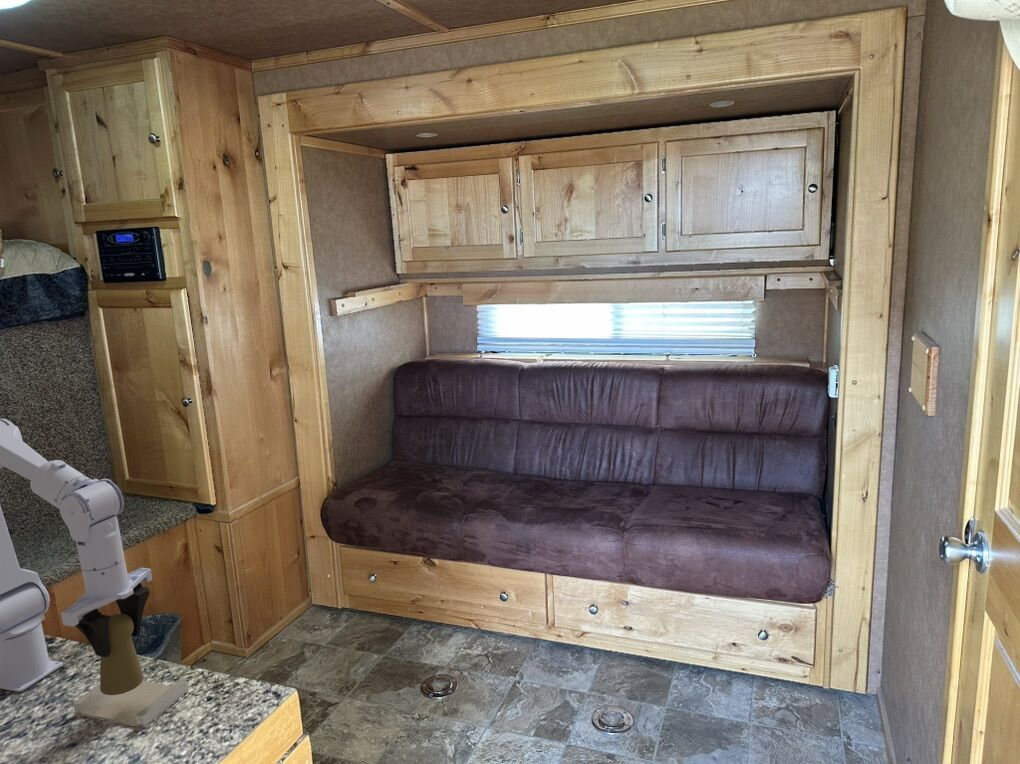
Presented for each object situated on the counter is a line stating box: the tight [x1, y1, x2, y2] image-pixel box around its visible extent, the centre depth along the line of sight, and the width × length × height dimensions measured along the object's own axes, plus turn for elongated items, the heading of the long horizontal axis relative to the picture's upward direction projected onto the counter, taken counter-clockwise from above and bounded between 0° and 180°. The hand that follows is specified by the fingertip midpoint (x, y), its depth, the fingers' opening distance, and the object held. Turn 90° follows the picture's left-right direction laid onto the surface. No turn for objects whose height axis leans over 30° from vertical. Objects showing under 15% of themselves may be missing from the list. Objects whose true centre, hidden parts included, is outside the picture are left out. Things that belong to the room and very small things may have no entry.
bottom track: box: [72, 679, 190, 729], centre depth 113 cm, size 14×9×2 cm, turn 71°
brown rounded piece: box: [99, 613, 145, 695], centre depth 111 cm, size 6×6×11 cm
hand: (118, 644), depth 111 cm, fingers closed on brown rounded piece, 5 cm apart
